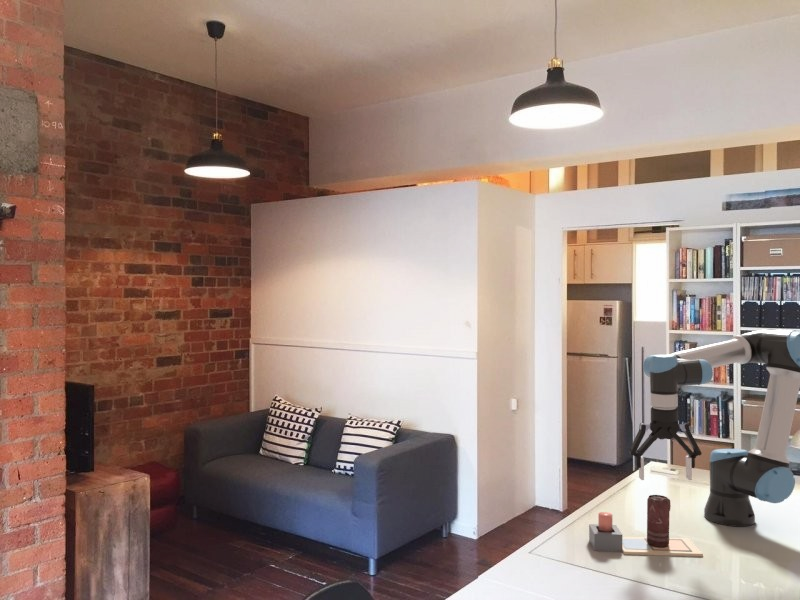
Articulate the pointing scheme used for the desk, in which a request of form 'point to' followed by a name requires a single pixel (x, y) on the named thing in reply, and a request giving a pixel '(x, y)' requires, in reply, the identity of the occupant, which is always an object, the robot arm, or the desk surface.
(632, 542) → the board
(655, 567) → the desk surface
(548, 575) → the desk surface
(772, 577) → the desk surface
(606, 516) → the button
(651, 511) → the can
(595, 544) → the button housing
